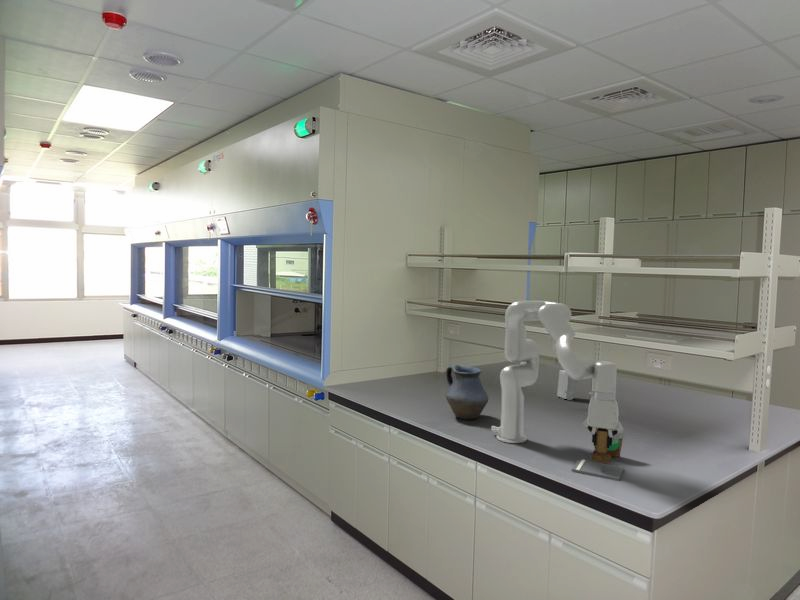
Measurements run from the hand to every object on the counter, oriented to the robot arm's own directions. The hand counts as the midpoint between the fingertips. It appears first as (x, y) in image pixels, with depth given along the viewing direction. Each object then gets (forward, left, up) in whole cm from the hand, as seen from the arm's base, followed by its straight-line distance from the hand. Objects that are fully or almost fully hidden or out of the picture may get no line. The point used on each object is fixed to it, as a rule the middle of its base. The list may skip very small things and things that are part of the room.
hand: (601, 445), depth 195 cm
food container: (-1, +18, -10) cm, 20 cm away
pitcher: (-69, +39, -10) cm, 80 cm away
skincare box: (-35, +107, -10) cm, 113 cm away
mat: (-1, 0, -9) cm, 9 cm away
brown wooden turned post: (0, 0, -5) cm, 5 cm away
